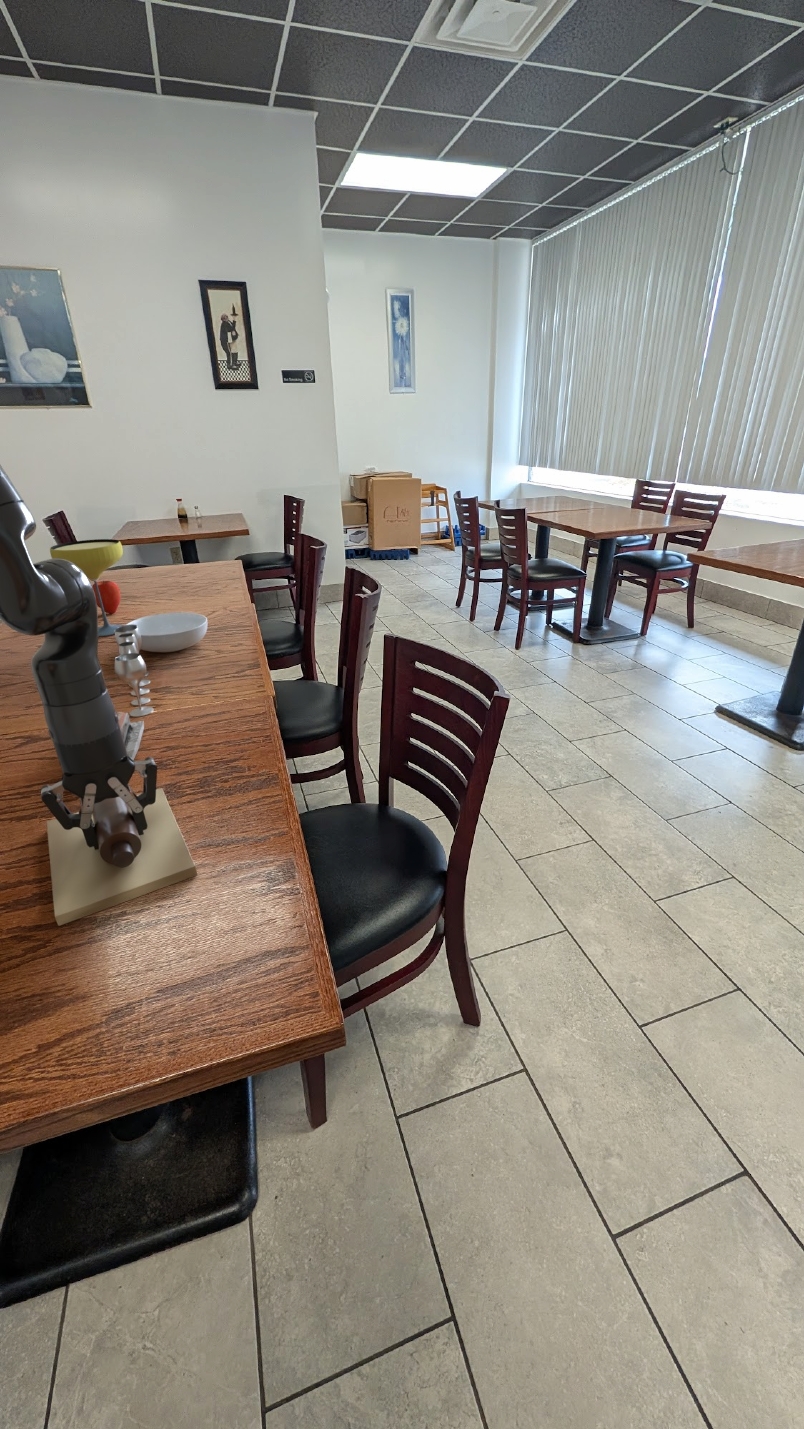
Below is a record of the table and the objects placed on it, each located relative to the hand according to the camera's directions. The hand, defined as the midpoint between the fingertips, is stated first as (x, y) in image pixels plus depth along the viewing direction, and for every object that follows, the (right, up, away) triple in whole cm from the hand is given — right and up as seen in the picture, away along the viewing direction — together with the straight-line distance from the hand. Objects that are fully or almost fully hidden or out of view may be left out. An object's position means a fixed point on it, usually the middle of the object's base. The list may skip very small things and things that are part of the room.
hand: (118, 838), depth 79 cm
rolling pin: (0, 0, 0) cm, 0 cm away
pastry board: (0, -2, +1) cm, 2 cm away
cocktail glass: (-49, +41, +94) cm, 114 cm away
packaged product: (-14, +10, +26) cm, 31 cm away
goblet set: (-20, +22, +51) cm, 59 cm away
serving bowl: (-24, +35, +79) cm, 89 cm away
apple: (-57, +50, +111) cm, 135 cm away
